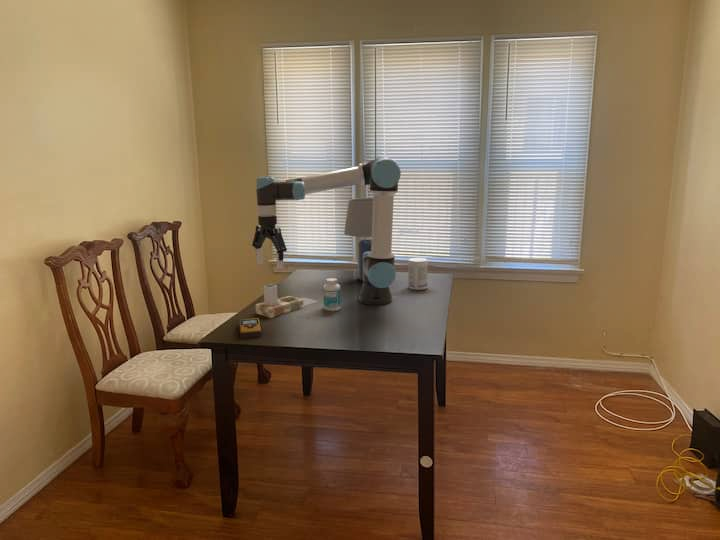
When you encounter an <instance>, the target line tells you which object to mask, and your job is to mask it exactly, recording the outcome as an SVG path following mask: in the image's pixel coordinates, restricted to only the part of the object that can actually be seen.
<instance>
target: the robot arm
mask: <svg viewBox="0 0 720 540" xmlns="http://www.w3.org/2000/svg"><path fill="white" fill-rule="evenodd" d="M401 174H402V171H401V168H400V165H399V164H398V163H397V161H396V160H394V159H392V158H389V157H378V158H374V159H371V160H369V161H364V162H360V163H359V164H358V165H357V166H352V167H348V168H342V169H338V170H334V171H333V170H332V171H327V172H323V173H318V174H317V173H316V174H312V175H307V176H303V177H297V178H289V179H286V180H285V181H276V180H275V179H276V178H275V177H274V176H259V177H257V178H256V180H255V182H256V183H255V184H256V185H255V187H256V188H255V190H256V191H255V192H256V203H257V215H258V216H257V221H258V225H256V226H255V232H254V236H253V239H252V243H251V246H252V247H254V248H255V256H256V264H257V265H262V264H264V254H263V253H264V252H263V244H264V242H265V240H266V239H269V240H270V241H271V243H272V244H273V246H274V248H275V250H276V256H275V257H276V269H278V270H279V269H284V259H285V258H284V252H287V246H286V243H285V240H284V238H283V237H284V236H283V235H282V230H281V227H276V225H277V224H278V216H277V203H276V202H277V201H299V200H304V199H305V198H306V195H311V194H315V193H320V192H325V191H331V190H337V189H341V188H346V187H350V186H351V187H352V186H356V185H362V186H368V185H369V191H370V193H371V194H372V198H373V216H372V237H371V239H372V244H371V251H370V252H364V253H363V258H362V259H363V281H362V286H361V289H360V291H359V292H360V293H359V297H358V300H359V301H360V303H362V304H365V305H374V306H378V305H379V306H380V305H386V304H389V303H392V301H393V295H392V292H391V290H390V286H391V285H393V283H394V282H395V280H396V278H397V277H396V276H397V272H396V268H395V254H394V253H393V252H392V244H393V243H392V241H393V240H392V239H393V224H394V223H393V222H394V221H393V220H394V219H393V218H394V201H395V200H394V197H395V195H396V194H397V193H398V191H399V181H400V179H401Z"/></svg>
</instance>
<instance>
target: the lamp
mask: <svg viewBox="0 0 720 540" xmlns="http://www.w3.org/2000/svg"><path fill="white" fill-rule="evenodd" d="M372 216H373V197H359V198H357V197H356V198H355V197H354V198H349V199H348V204H347V211H346V218H345V226H344V232H343V234H344V235H345V236H349V237H356V238H357V237H358V238H364V239H361V240H359V242H358V244H357V276H358V279H359V280H360V281H362V282H363V259H362V258H363V253H364V252H370V251H371V244H372Z"/></svg>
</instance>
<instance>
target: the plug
mask: <svg viewBox="0 0 720 540" xmlns="http://www.w3.org/2000/svg"><path fill="white" fill-rule="evenodd" d="M278 298H279V297H278V285H275V284H273V283H268V284H266V285H264V286H263V302H264V305H267V306H270V307H272V306H276V305H278Z"/></svg>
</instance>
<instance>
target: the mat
mask: <svg viewBox="0 0 720 540" xmlns="http://www.w3.org/2000/svg"><path fill="white" fill-rule="evenodd" d="M300 299H302V300H303V307H305V306H308V305H313V304H316V303H319V301H317V300H315V299H311V298H308V297H302V298H300Z"/></svg>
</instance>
